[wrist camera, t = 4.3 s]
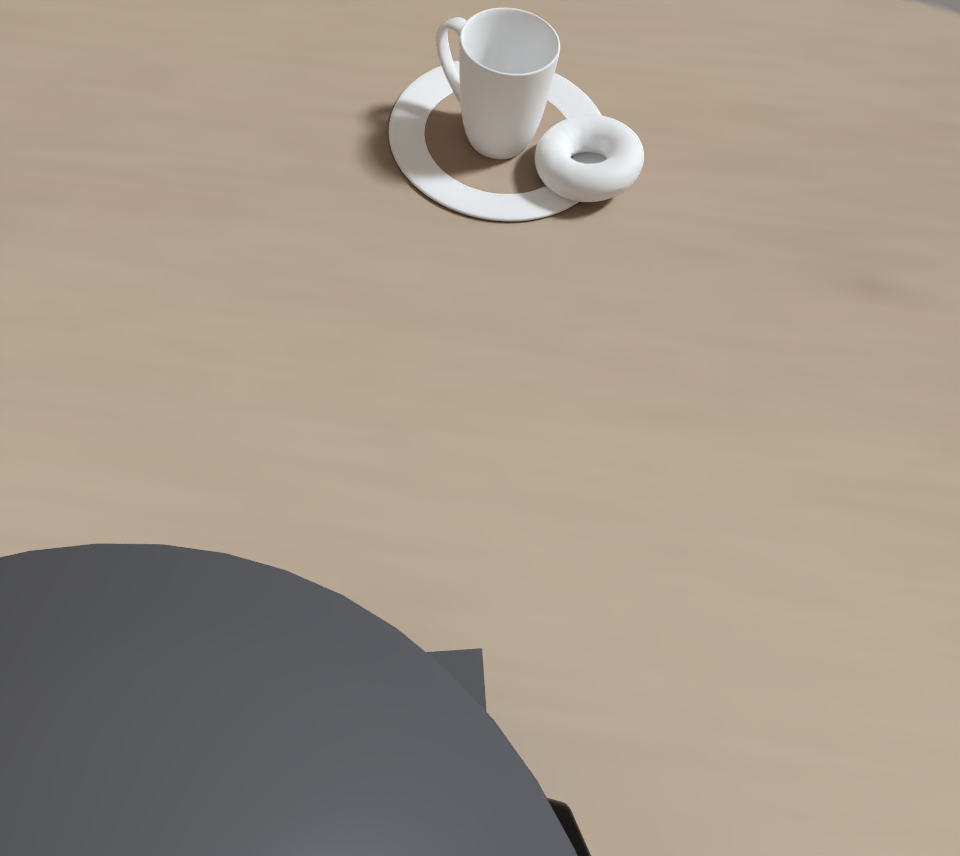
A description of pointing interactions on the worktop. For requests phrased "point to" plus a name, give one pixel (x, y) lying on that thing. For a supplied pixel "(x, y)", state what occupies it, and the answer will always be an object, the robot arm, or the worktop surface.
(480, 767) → the knob
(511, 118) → the teacup and saucer
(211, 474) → the worktop surface
